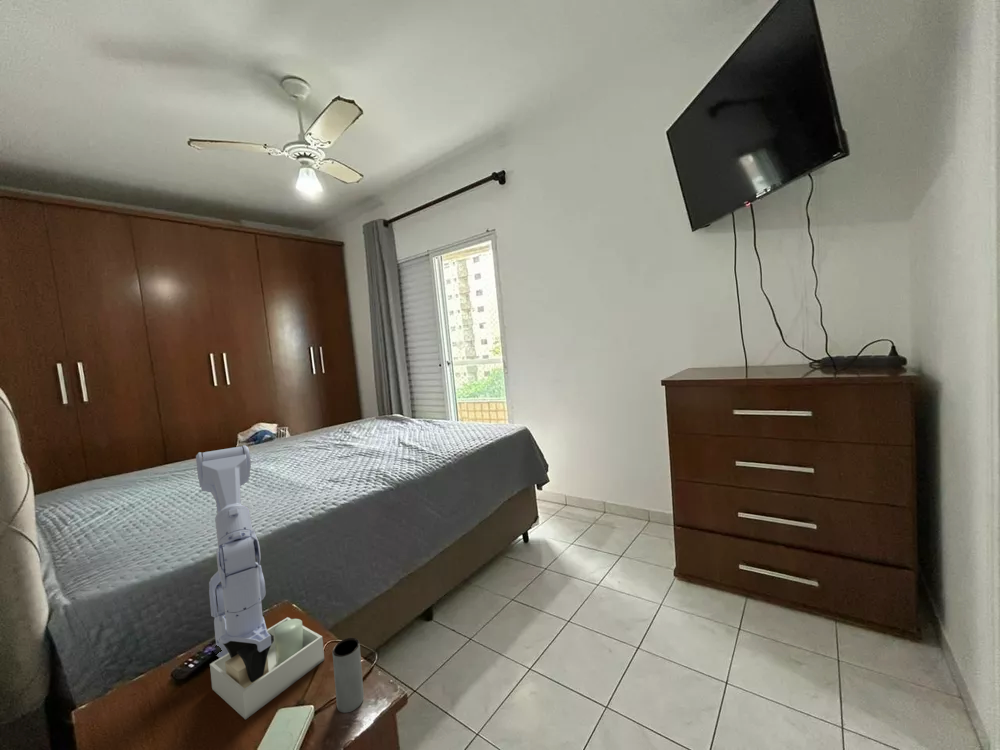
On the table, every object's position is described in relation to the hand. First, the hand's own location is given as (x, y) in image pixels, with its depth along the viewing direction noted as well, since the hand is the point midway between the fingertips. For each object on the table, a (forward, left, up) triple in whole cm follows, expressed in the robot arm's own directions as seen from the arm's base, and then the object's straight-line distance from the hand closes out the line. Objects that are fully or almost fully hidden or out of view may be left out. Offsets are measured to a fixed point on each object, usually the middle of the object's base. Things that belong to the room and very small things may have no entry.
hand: (249, 672), depth 73 cm
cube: (0, 0, -2) cm, 2 cm away
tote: (0, +4, -3) cm, 5 cm away
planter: (+20, +8, -4) cm, 21 cm away
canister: (0, +7, -3) cm, 8 cm away
